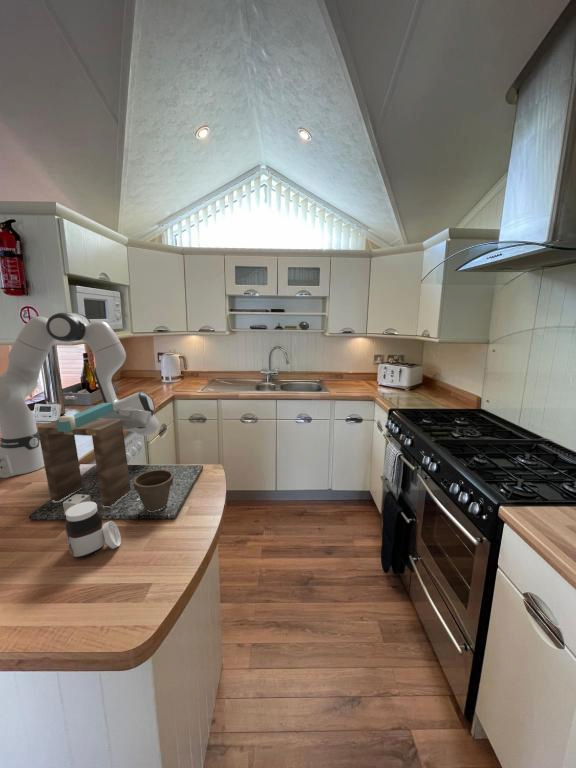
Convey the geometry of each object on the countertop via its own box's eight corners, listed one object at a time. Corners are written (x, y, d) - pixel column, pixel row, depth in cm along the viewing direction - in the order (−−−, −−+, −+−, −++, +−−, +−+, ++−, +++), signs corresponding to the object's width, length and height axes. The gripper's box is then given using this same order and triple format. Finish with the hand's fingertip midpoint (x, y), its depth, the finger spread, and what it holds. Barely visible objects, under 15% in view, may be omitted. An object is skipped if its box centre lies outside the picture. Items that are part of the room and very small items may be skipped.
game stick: (57, 431, 100) (54, 418, 99) (103, 411, 121) (102, 400, 120) (69, 431, 99) (67, 418, 98) (114, 411, 121) (112, 400, 120)
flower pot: (183, 499, 110) (180, 471, 108) (160, 519, 99) (157, 488, 97) (153, 495, 113) (150, 467, 111) (128, 514, 102) (124, 483, 100)
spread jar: (66, 547, 88) (58, 507, 86) (112, 528, 96) (106, 490, 93) (78, 571, 79) (70, 527, 77) (127, 547, 87) (122, 507, 85)
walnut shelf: (50, 503, 109) (36, 427, 104) (75, 487, 119) (64, 417, 114) (110, 508, 105) (98, 430, 100) (131, 492, 115) (121, 419, 110)
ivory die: (65, 517, 101) (62, 501, 100) (78, 508, 106) (75, 492, 105) (79, 519, 100) (77, 502, 99) (92, 509, 105) (89, 493, 104)
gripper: (108, 410, 134) (82, 401, 121) (155, 412, 130) (133, 402, 118) (104, 426, 132) (78, 418, 119) (151, 428, 128) (129, 420, 116)
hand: (106, 410), depth 118 cm, fingers open, 8 cm apart
